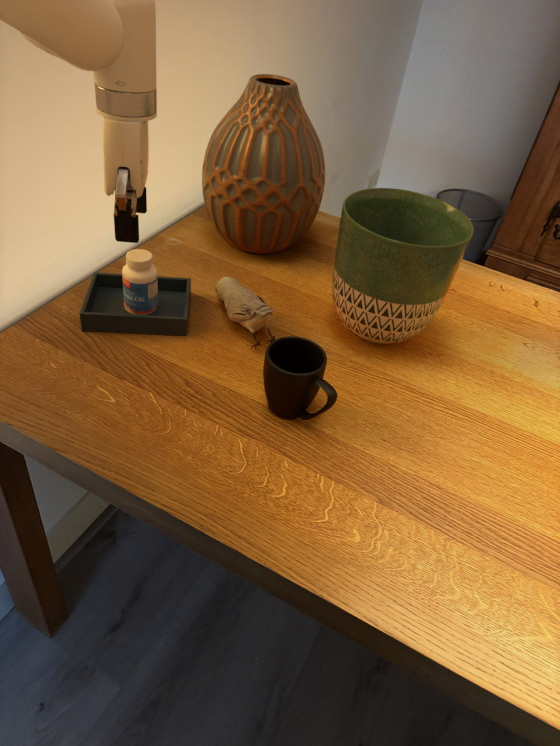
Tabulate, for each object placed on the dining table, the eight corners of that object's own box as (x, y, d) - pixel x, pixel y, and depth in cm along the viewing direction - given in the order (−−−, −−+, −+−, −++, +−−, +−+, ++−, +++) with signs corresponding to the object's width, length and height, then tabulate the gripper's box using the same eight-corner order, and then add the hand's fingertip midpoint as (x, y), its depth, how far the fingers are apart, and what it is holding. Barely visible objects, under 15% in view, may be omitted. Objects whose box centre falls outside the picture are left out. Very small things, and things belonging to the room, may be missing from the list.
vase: (325, 229, 122) (353, 80, 102) (295, 279, 104) (322, 109, 84) (226, 204, 126) (235, 55, 106) (180, 248, 108) (181, 79, 88)
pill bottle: (117, 310, 89) (112, 257, 82) (136, 294, 93) (133, 242, 86) (147, 320, 88) (144, 267, 81) (164, 304, 92) (163, 252, 85)
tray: (81, 331, 85) (79, 313, 83) (95, 288, 94) (93, 272, 92) (186, 336, 87) (187, 319, 85) (190, 294, 96) (190, 278, 94)
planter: (386, 292, 105) (417, 183, 91) (453, 352, 92) (502, 237, 78) (298, 310, 96) (318, 193, 83) (359, 378, 84) (395, 255, 70)
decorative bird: (232, 296, 97) (235, 258, 92) (281, 347, 88) (286, 308, 83) (205, 302, 95) (207, 264, 90) (252, 355, 85) (256, 316, 80)
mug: (297, 454, 71) (308, 401, 65) (247, 398, 78) (253, 345, 72) (344, 431, 75) (359, 380, 69) (293, 380, 82) (302, 329, 76)
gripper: (107, 80, 75) (114, 199, 86) (82, 117, 62) (94, 251, 73) (162, 87, 76) (162, 204, 87) (149, 124, 63) (151, 256, 74)
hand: (131, 225), depth 80 cm, fingers open, 9 cm apart
